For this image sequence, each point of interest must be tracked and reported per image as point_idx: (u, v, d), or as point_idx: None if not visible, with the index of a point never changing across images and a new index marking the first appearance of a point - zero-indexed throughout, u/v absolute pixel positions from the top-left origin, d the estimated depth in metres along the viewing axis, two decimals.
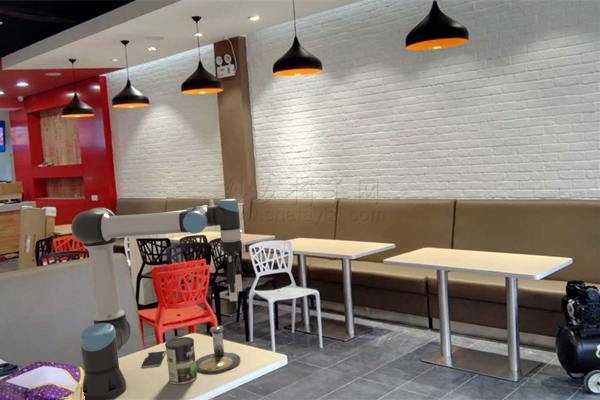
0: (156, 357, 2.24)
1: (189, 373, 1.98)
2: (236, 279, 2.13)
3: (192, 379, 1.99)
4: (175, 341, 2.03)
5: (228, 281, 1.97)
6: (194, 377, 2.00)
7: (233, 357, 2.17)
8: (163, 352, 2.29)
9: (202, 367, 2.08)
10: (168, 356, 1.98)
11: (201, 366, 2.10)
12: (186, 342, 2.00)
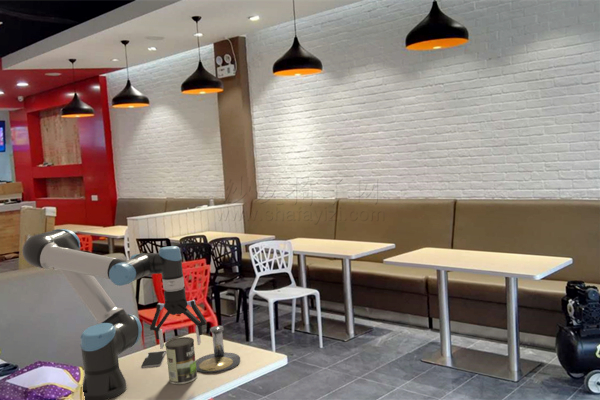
0: (156, 357, 2.24)
1: (189, 373, 1.98)
2: None
3: (192, 379, 1.99)
4: (175, 341, 2.03)
5: None
6: (194, 377, 2.00)
7: (233, 357, 2.17)
8: (163, 352, 2.29)
9: (202, 367, 2.08)
10: (168, 356, 1.98)
11: (201, 366, 2.10)
12: (186, 342, 2.00)
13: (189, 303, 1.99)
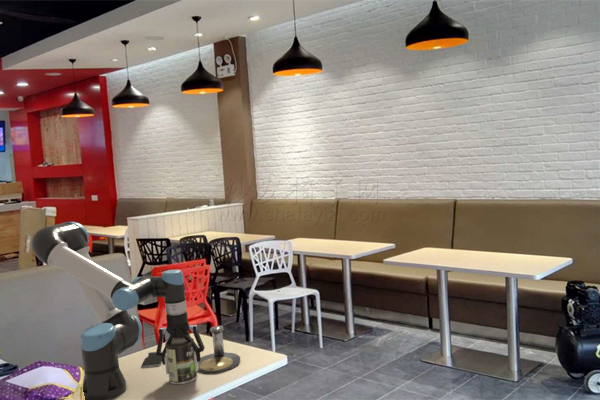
0: (156, 357, 2.24)
1: (189, 373, 1.98)
2: None
3: (192, 379, 1.99)
4: (175, 341, 2.03)
5: None
6: (194, 377, 2.00)
7: (233, 357, 2.17)
8: None
9: (202, 367, 2.08)
10: (168, 356, 1.98)
11: (201, 366, 2.10)
12: (186, 342, 2.00)
13: (191, 328, 2.00)
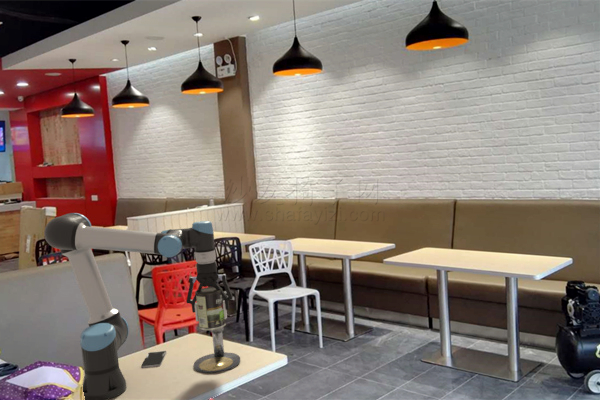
0: (156, 357, 2.24)
1: (219, 320, 2.06)
2: None
3: (221, 326, 2.07)
4: (204, 290, 2.10)
5: None
6: (223, 324, 2.08)
7: (233, 357, 2.17)
8: (163, 352, 2.29)
9: (202, 367, 2.08)
10: (198, 303, 2.06)
11: (201, 366, 2.10)
12: (215, 290, 2.08)
13: (220, 276, 2.08)
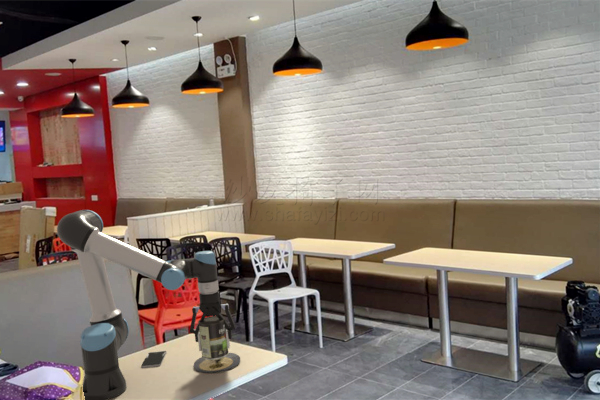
0: (156, 357, 2.24)
1: (222, 350, 2.07)
2: None
3: (224, 355, 2.08)
4: (207, 319, 2.11)
5: None
6: (226, 354, 2.09)
7: (233, 357, 2.17)
8: (163, 352, 2.29)
9: (202, 367, 2.08)
10: (201, 333, 2.07)
11: (201, 366, 2.10)
12: (218, 320, 2.09)
13: (223, 306, 2.09)
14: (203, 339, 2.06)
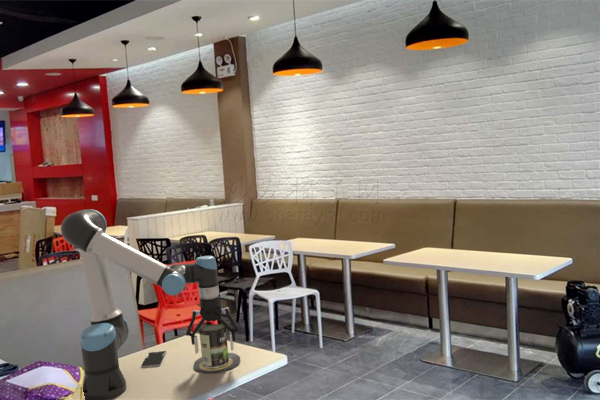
0: (156, 357, 2.24)
1: (222, 358, 2.07)
2: None
3: (225, 364, 2.08)
4: (208, 327, 2.12)
5: None
6: (226, 362, 2.09)
7: (233, 357, 2.17)
8: (163, 352, 2.29)
9: (202, 367, 2.08)
10: (202, 341, 2.07)
11: (201, 366, 2.10)
12: (219, 328, 2.09)
13: (223, 310, 2.09)
14: (204, 347, 2.07)
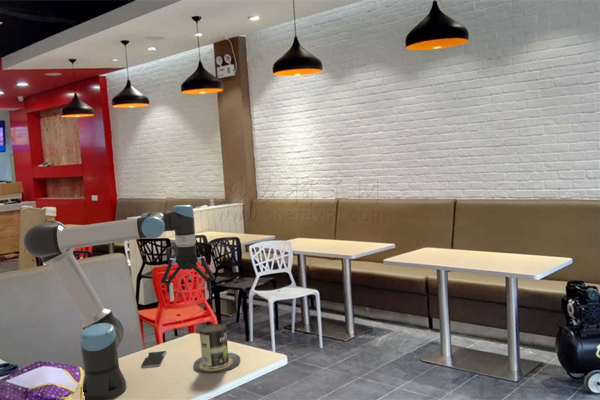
0: (156, 357, 2.24)
1: (222, 358, 2.07)
2: None
3: (225, 364, 2.08)
4: (208, 327, 2.12)
5: None
6: (226, 362, 2.09)
7: (233, 357, 2.17)
8: (163, 352, 2.29)
9: (202, 367, 2.08)
10: (202, 341, 2.07)
11: (201, 366, 2.10)
12: (219, 328, 2.09)
13: (199, 259, 2.10)
14: (204, 347, 2.07)
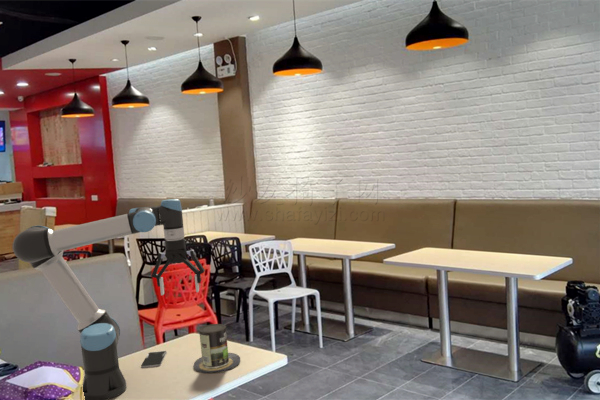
0: (156, 357, 2.24)
1: (222, 358, 2.07)
2: None
3: (225, 364, 2.08)
4: (207, 327, 2.11)
5: None
6: (226, 362, 2.09)
7: (233, 357, 2.17)
8: (163, 352, 2.29)
9: (202, 367, 2.08)
10: (202, 342, 2.07)
11: (201, 366, 2.10)
12: (219, 328, 2.09)
13: (188, 252, 2.12)
14: (204, 347, 2.07)
